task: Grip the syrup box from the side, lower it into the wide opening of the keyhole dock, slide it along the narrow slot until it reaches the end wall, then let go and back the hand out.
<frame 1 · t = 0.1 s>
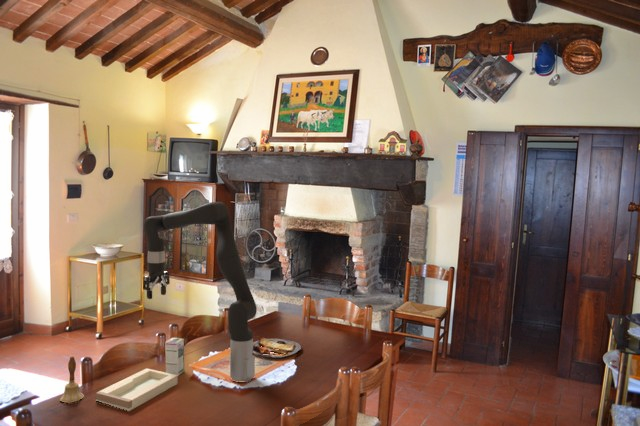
hand: (156, 296, 225), 29 cm above the table, tool pointing down, fingers open, 8 cm apart
food plate: (274, 351, 243), on the table
keyhole dock: (138, 392, 194), on the table
syrup box: (174, 373, 214), on the table
hand bell: (72, 399, 188), on the table
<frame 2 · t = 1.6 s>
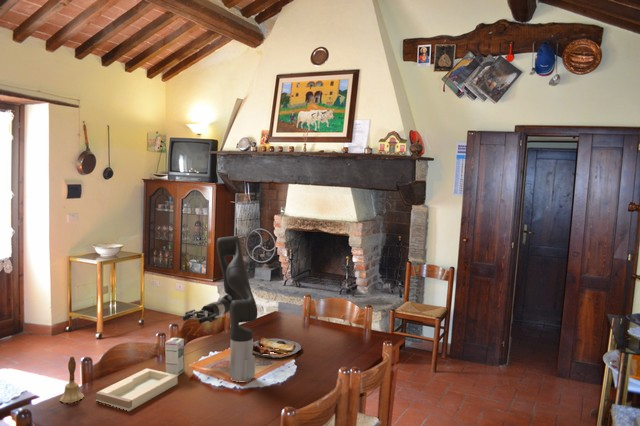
hand: (191, 320, 222), 20 cm above the table, tool horizontal, fingers open, 8 cm apart
nothing on the table moved.
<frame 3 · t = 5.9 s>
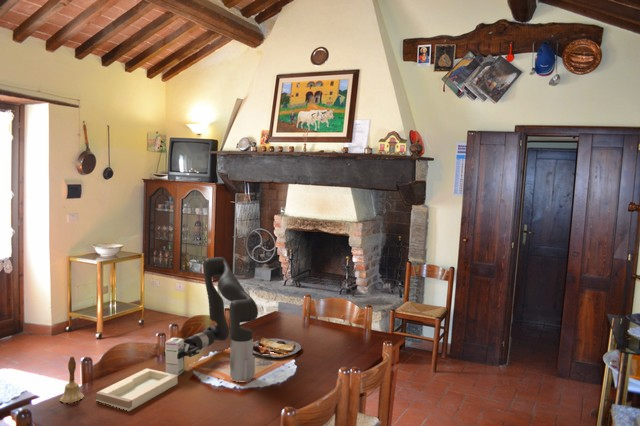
hand: (171, 355, 211), 9 cm above the table, tool horizontal, fingers closed on syrup box, 6 cm apart
syrup box: (174, 373, 214), on the table, touching gripper
everything else where it was.
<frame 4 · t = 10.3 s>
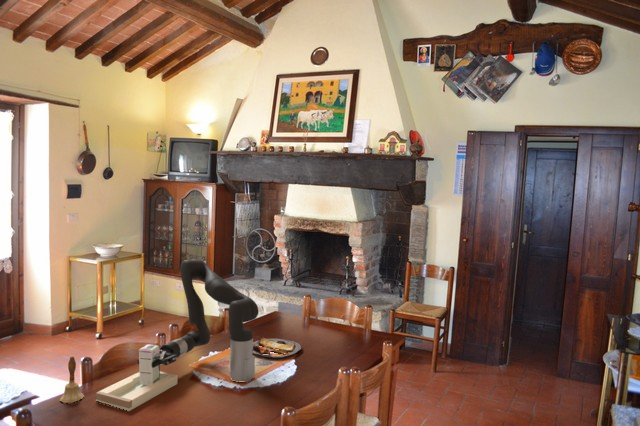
hand: (145, 363, 197), 10 cm above the table, tool horizontal, fingers closed on syrup box, 6 cm apart
syrup box: (149, 382, 200), point 1 cm above the table, touching gripper
everything else where it was.
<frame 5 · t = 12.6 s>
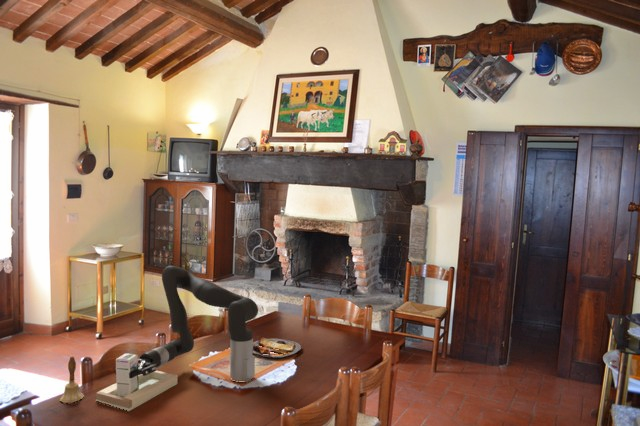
hand: (122, 373, 187), 10 cm above the table, tool horizontal, fingers closed on syrup box, 6 cm apart
syrup box: (127, 394, 190), point 1 cm above the table, touching gripper
everything else where it was.
when the fingers open (10 cm above the table, at t = 14.8 s): syrup box stays where it is, resting on keyhole dock.
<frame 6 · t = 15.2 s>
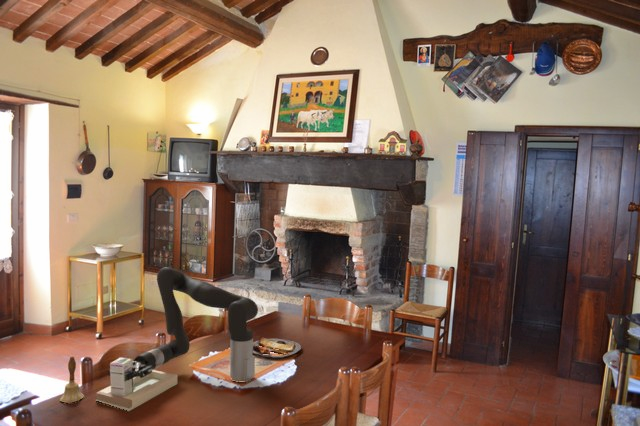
hand: (117, 375, 184), 10 cm above the table, tool horizontal, fingers open, 8 cm apart
syrup box: (122, 398, 187), point 1 cm above the table, touching keyhole dock
everything else where it was.
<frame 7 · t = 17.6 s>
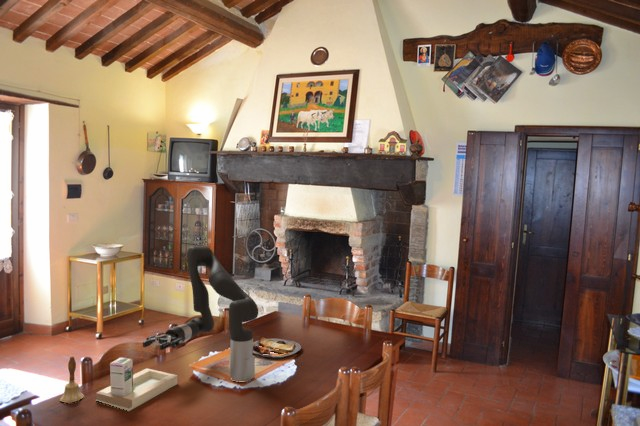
hand: (151, 346, 199), 16 cm above the table, tool horizontal, fingers open, 8 cm apart
nothing on the table moved.
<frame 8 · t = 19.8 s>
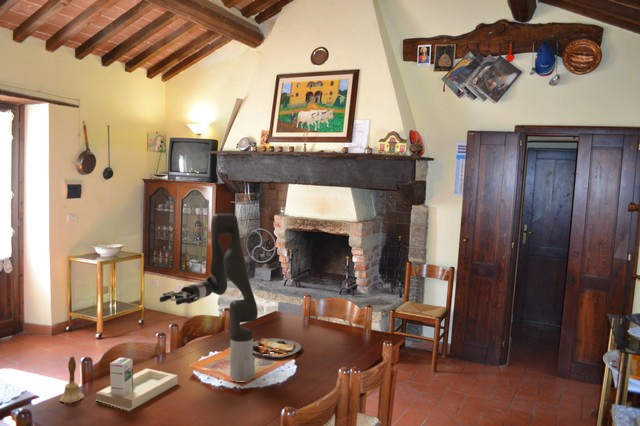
hand: (168, 301, 207), 32 cm above the table, tool horizontal, fingers open, 8 cm apart
nothing on the table moved.
at the end: syrup box 0.4 cm from the target spot on the keyhole dock, point 0.8 cm above the keyhole dock's base; syrup box tilted 0°; the gripper is holding nothing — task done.
